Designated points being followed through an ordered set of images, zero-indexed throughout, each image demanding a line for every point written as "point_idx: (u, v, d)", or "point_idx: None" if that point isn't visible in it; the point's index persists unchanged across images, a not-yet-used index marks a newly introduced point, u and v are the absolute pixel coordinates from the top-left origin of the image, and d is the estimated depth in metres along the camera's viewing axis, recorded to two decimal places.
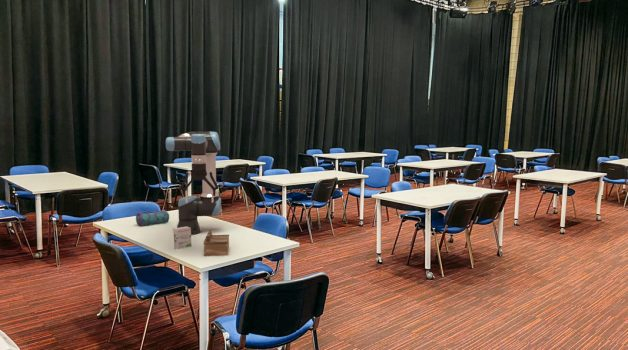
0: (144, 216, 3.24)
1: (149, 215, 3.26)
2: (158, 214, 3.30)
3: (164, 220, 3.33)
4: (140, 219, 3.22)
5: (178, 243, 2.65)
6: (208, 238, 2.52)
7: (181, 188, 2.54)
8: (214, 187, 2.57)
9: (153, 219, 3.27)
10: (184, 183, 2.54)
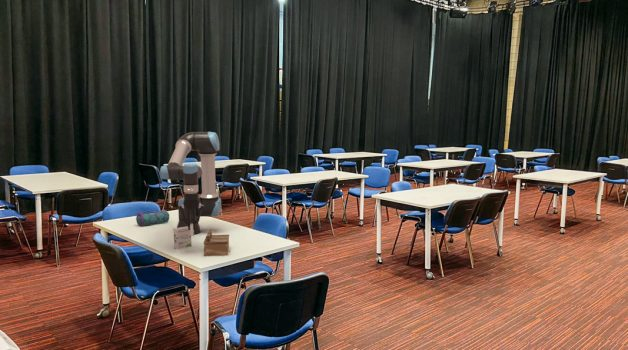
0: (145, 216, 3.23)
1: (150, 215, 3.26)
2: (158, 214, 3.31)
3: (164, 220, 3.33)
4: (141, 219, 3.21)
5: (178, 243, 2.65)
6: (208, 238, 2.52)
7: (186, 221, 2.55)
8: None
9: (154, 219, 3.27)
10: (185, 216, 2.55)
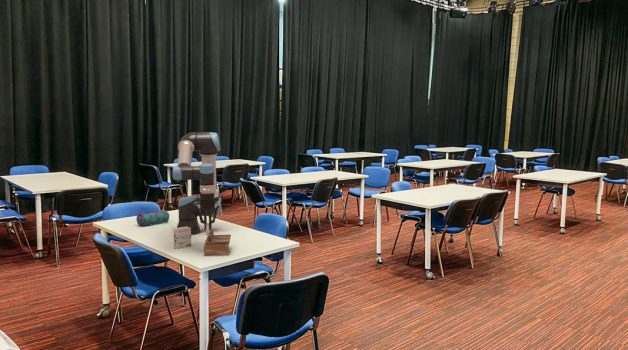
0: (146, 216, 3.23)
1: (150, 215, 3.26)
2: (159, 214, 3.31)
3: (164, 220, 3.34)
4: (142, 219, 3.21)
5: (178, 243, 2.65)
6: (210, 238, 2.52)
7: (202, 221, 2.56)
8: None
9: (154, 219, 3.27)
10: (201, 216, 2.56)
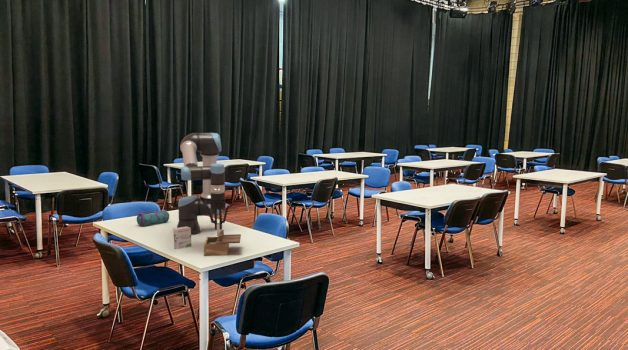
0: (146, 216, 3.23)
1: (151, 215, 3.26)
2: (159, 214, 3.31)
3: (164, 220, 3.34)
4: (143, 219, 3.21)
5: (178, 243, 2.65)
6: (221, 238, 2.53)
7: (212, 221, 2.57)
8: None
9: (155, 219, 3.27)
10: (211, 215, 2.56)
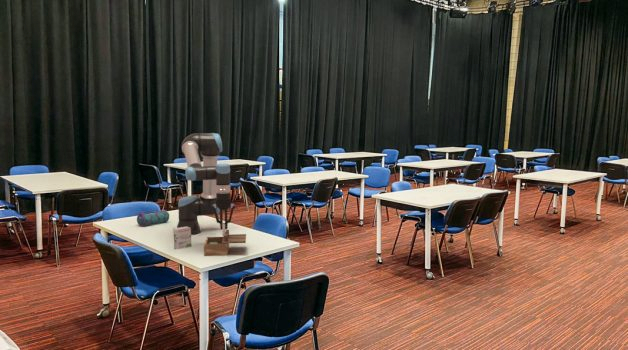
0: (147, 216, 3.23)
1: (151, 215, 3.26)
2: (159, 214, 3.31)
3: (164, 220, 3.34)
4: (143, 219, 3.21)
5: (178, 243, 2.65)
6: (226, 238, 2.53)
7: (218, 221, 2.57)
8: None
9: (155, 219, 3.27)
10: (217, 215, 2.57)
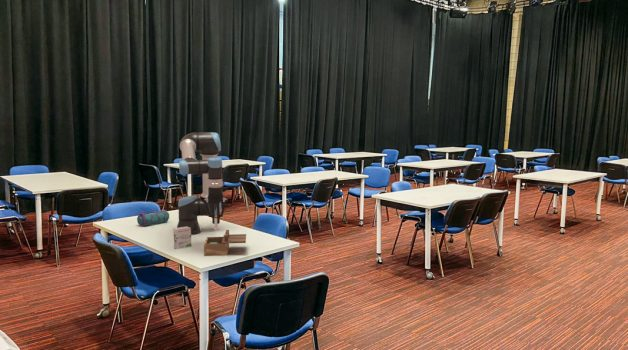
0: (147, 216, 3.23)
1: (151, 215, 3.26)
2: (159, 214, 3.31)
3: (164, 220, 3.34)
4: (144, 219, 3.21)
5: (178, 243, 2.65)
6: (226, 238, 2.53)
7: (210, 215, 2.56)
8: None
9: (155, 219, 3.27)
10: (209, 210, 2.56)
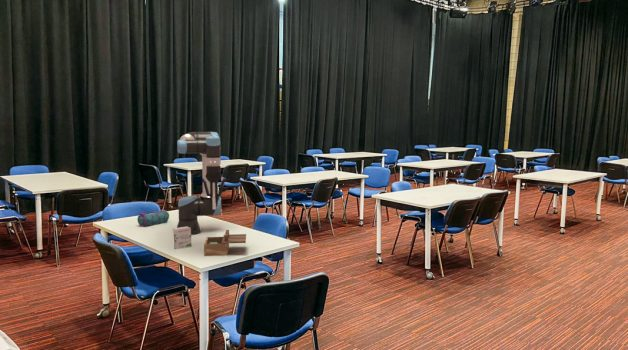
0: (148, 216, 3.23)
1: (152, 215, 3.26)
2: (159, 214, 3.31)
3: (164, 219, 3.35)
4: (145, 219, 3.20)
5: (178, 243, 2.65)
6: (226, 238, 2.53)
7: (208, 194, 2.55)
8: None
9: (156, 219, 3.27)
10: (207, 189, 2.54)
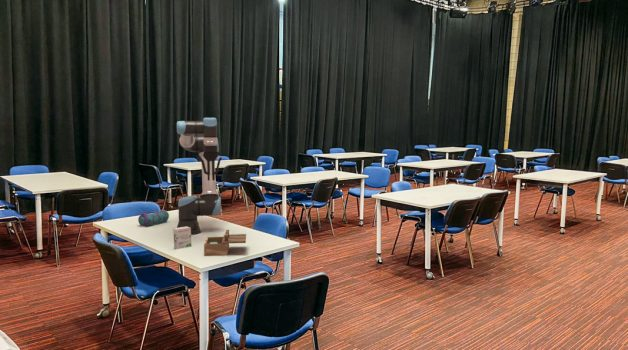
0: (149, 216, 3.23)
1: (153, 215, 3.26)
2: (159, 214, 3.32)
3: (164, 219, 3.35)
4: (146, 220, 3.20)
5: (178, 243, 2.65)
6: (226, 238, 2.53)
7: (205, 172, 2.71)
8: None
9: (157, 219, 3.28)
10: (204, 167, 2.71)
